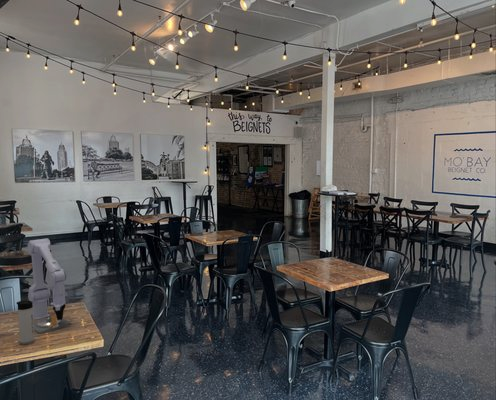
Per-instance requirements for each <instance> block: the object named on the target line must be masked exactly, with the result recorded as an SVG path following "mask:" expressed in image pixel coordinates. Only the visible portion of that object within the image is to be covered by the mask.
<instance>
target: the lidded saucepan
mask: <svg viewBox="0 0 496 400" xmlns="http://www.w3.org/2000/svg"><path fill="white" fill-rule="evenodd" d="M38 321H39V322H38V323H37V326H38V327H49V324H51V328H56V327H59V325H58V324H59V323H60V322H61V320H57V318H56V314H55V315H51V316H48V317H45V318H42V319H39V320H38Z"/></svg>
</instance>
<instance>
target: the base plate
mask: <svg viewBox="0 0 496 400" xmlns="http://www.w3.org/2000/svg"><path fill="white" fill-rule="evenodd" d="M56 318H57V317H56ZM39 321H40V320H38V321H37V320H36V321H34V333H36V334H38V335H42V334H45V333H49V332H53V331H56V330H59V329H62V328H65V327H68V326H69V327H70V326H72V322H71V321H69V320H67V319H65V318H62V320H61V322H60V323H59V324H58V325H59V327H56V328H51V324H49V327H38V326H37V323H38V322H39Z"/></svg>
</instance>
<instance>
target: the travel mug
mask: <svg viewBox="0 0 496 400" xmlns="http://www.w3.org/2000/svg"><path fill="white" fill-rule="evenodd" d="M16 305H17V321H18V337H19V338H18V340H19V344H20V345H22V346H23V345H25V346H26V345H30V344H33V343H34V342H35V341H36V338H35V331H34V322H35V321H34V320H35V319H33V303H32V301H30V300H19V301H17V302H16Z"/></svg>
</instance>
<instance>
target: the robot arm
mask: <svg viewBox="0 0 496 400" xmlns="http://www.w3.org/2000/svg"><path fill="white" fill-rule="evenodd" d="M50 249H51V241H50V239H49V238H47V237H46V238H41V239H32V240H29V241H28V242H27V252H28V253H27V254H28V255H30V256H31V264H32V265H31V266H32V277H33V284H32V285H31V286H29V288H28V293H27V296H28V301H32V303H33V319H34V320H36V321H37V320H42V319H46V318H47V317H51V316H52V315H51V314H49V313H48V301H49V299H50V297H51V292H52V301H51V302H50V306H53V307H52V309H53V310H52V311H54V313H55V316H56V317H57V320H62V318H63V317H64V312H65V309H66V305H67V303H66V291H65V289H66V287H65V286H66V285H65V281H66V280H67V273H66V271H65V269H63V268H62V267H60V265H59V263H58V261H57V260H56V259H54V257H53V255H52V252H51V250H50ZM43 260H44V261H45V262H46V263H45V265H44V266H45V267H46V269H47V271H48V274H49V281H50V285H51V287H52V291H51V290H50V286H49V285H48V284H47V283H45V281H44V279H45V278H44V270H43V269H44V268H43Z"/></svg>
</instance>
